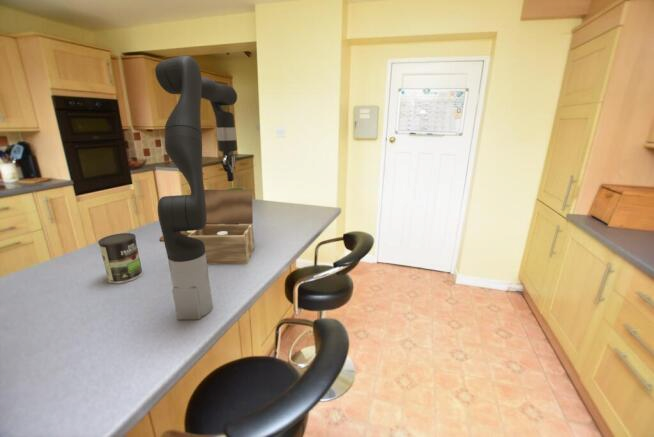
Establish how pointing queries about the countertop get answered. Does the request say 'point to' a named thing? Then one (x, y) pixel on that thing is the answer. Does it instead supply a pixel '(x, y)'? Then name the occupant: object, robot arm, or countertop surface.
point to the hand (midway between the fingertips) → (230, 180)
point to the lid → (229, 206)
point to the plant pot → (235, 188)
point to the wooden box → (226, 243)
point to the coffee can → (121, 257)
